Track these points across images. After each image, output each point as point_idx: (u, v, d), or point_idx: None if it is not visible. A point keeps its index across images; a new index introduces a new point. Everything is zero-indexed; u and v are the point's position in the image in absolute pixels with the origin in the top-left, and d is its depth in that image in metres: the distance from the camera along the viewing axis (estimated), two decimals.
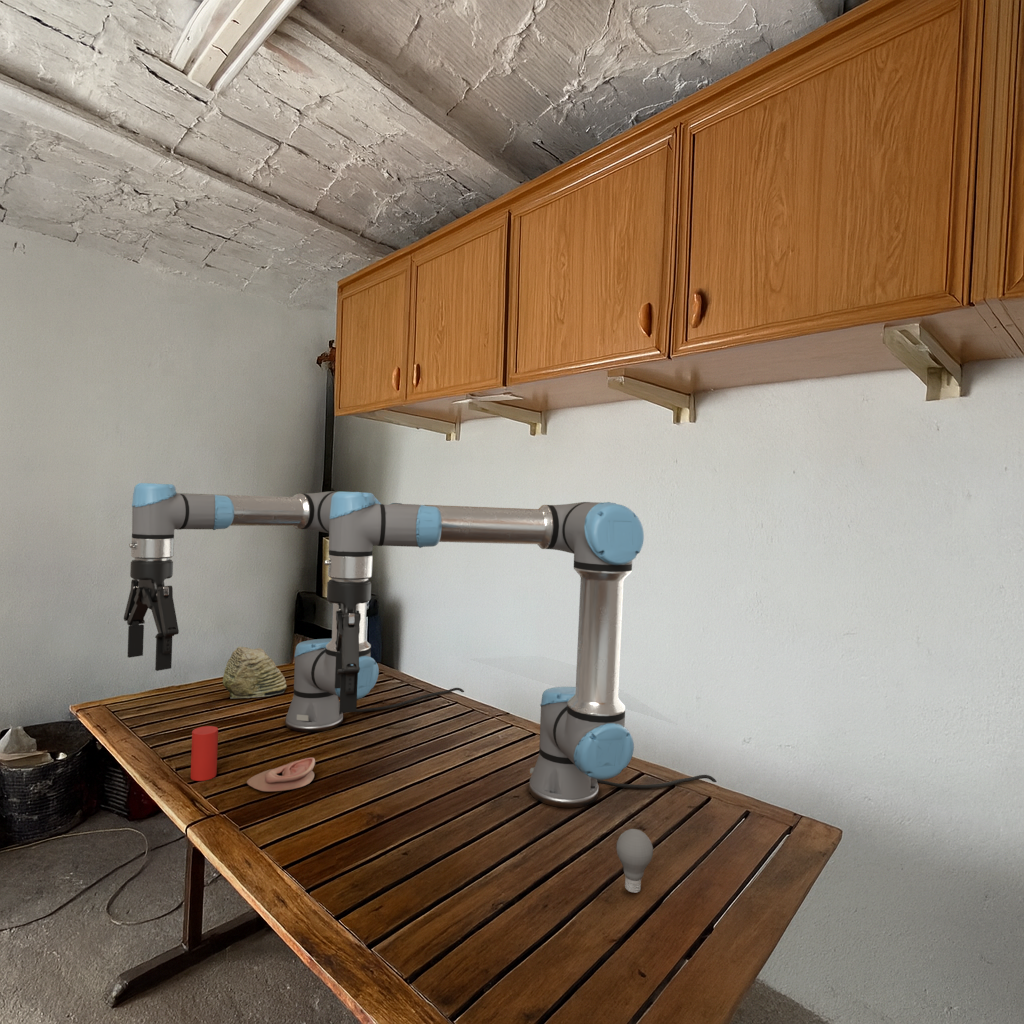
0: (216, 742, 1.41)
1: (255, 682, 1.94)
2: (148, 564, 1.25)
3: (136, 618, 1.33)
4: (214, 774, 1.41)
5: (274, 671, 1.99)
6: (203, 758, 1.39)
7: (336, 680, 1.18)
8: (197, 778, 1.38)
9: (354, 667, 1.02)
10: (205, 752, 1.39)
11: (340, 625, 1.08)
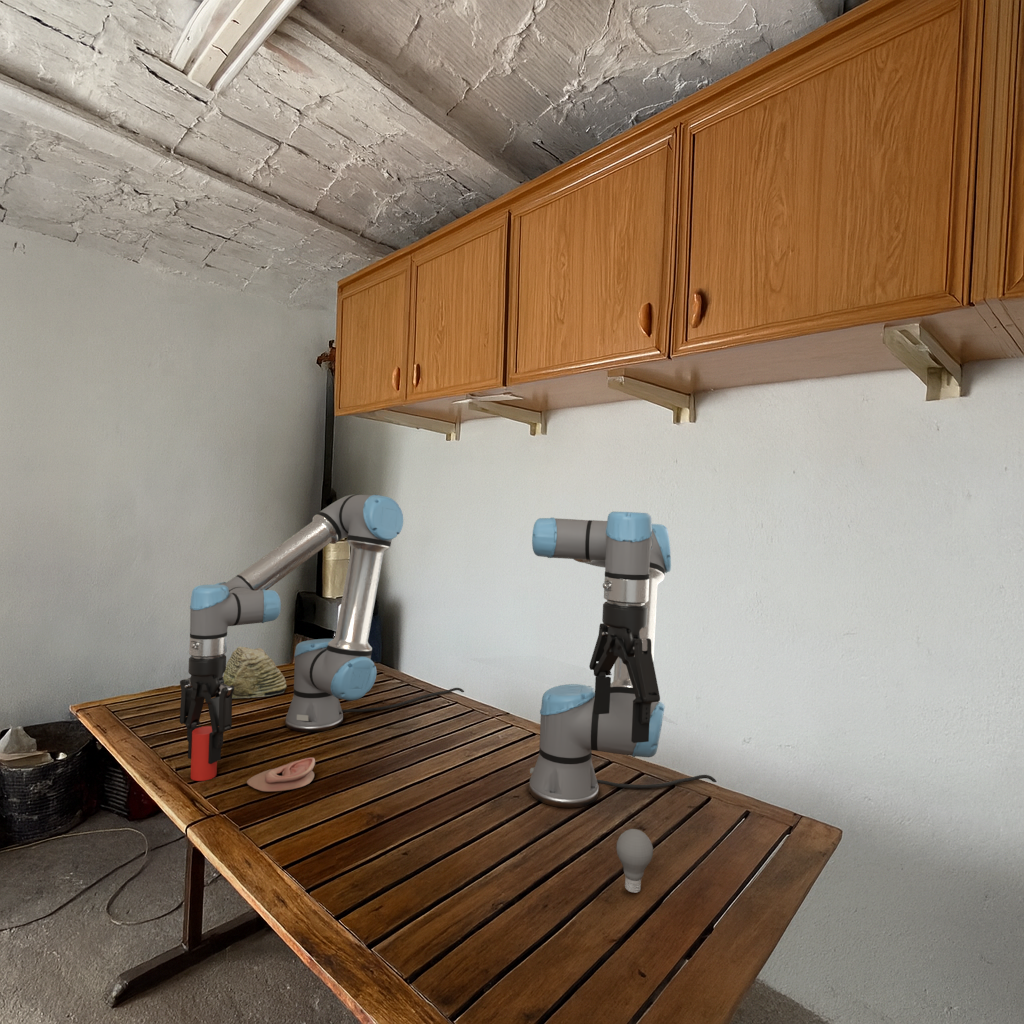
0: None
1: (255, 682, 1.94)
2: (211, 661, 1.38)
3: (194, 718, 1.42)
4: (214, 774, 1.41)
5: (274, 671, 1.99)
6: (203, 758, 1.39)
7: (597, 706, 1.14)
8: (197, 778, 1.38)
9: (655, 696, 0.98)
10: (205, 752, 1.39)
11: (624, 651, 1.04)
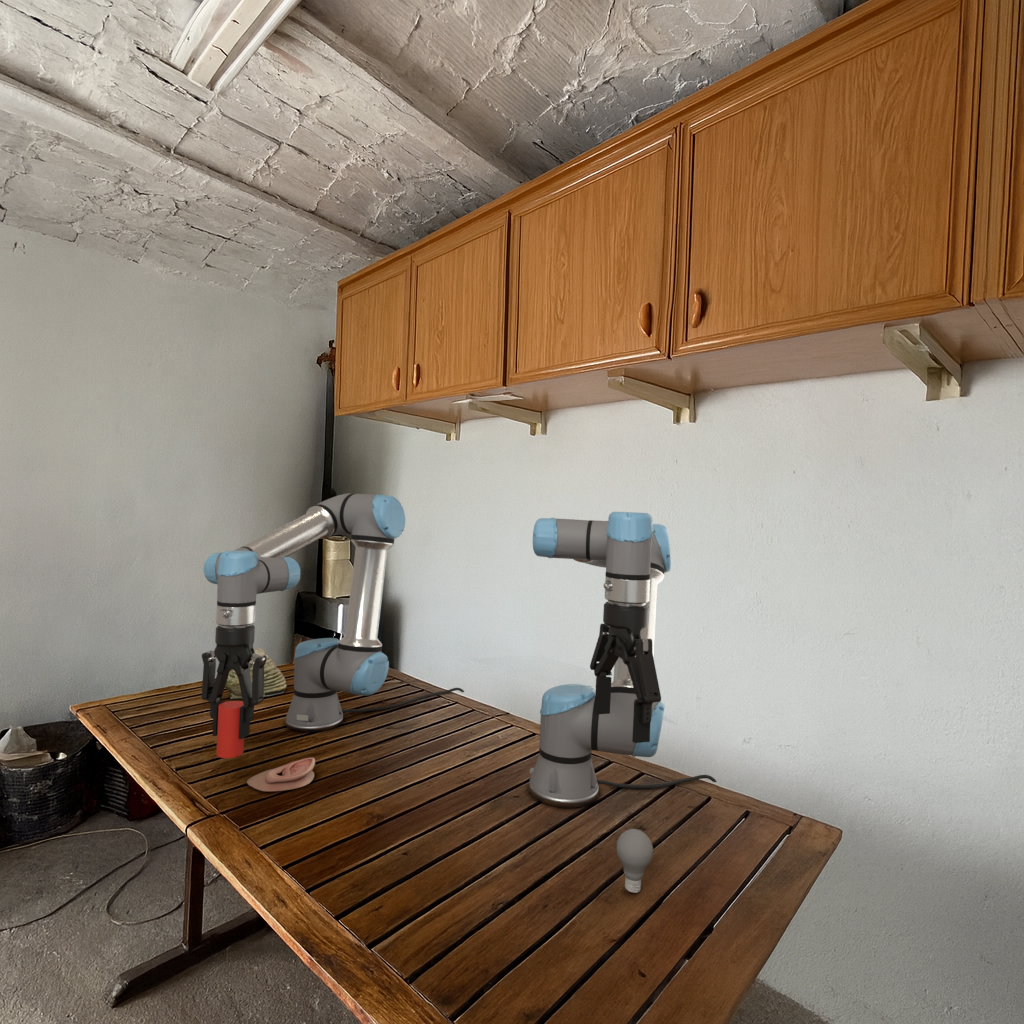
0: None
1: None
2: (244, 630, 1.30)
3: (219, 692, 1.33)
4: (242, 750, 1.33)
5: (274, 671, 1.99)
6: (233, 733, 1.31)
7: (597, 706, 1.14)
8: (226, 755, 1.30)
9: (656, 696, 0.98)
10: (235, 727, 1.31)
11: (625, 651, 1.04)
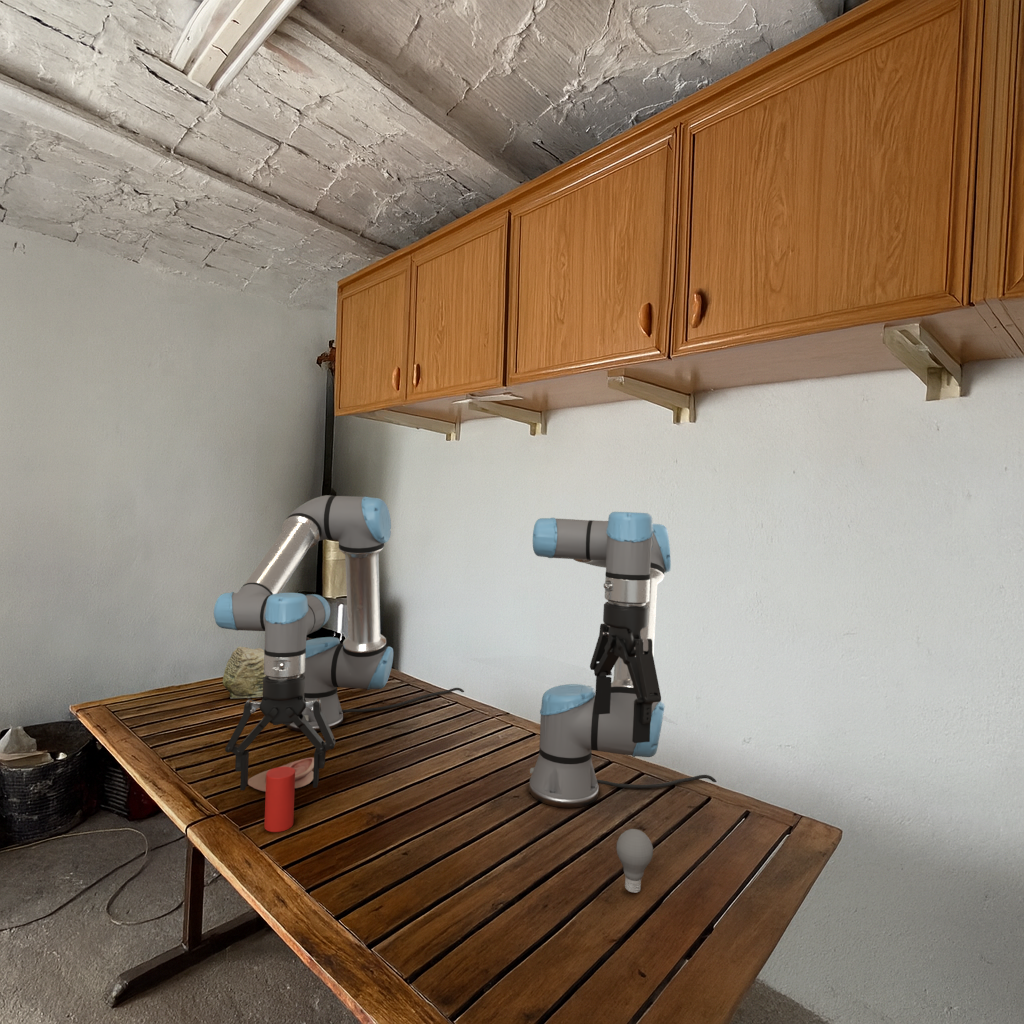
0: None
1: (255, 682, 1.94)
2: (300, 681, 1.20)
3: None
4: None
5: None
6: (288, 803, 1.20)
7: (597, 706, 1.14)
8: (281, 828, 1.19)
9: (656, 696, 0.98)
10: (289, 797, 1.20)
11: (625, 651, 1.04)
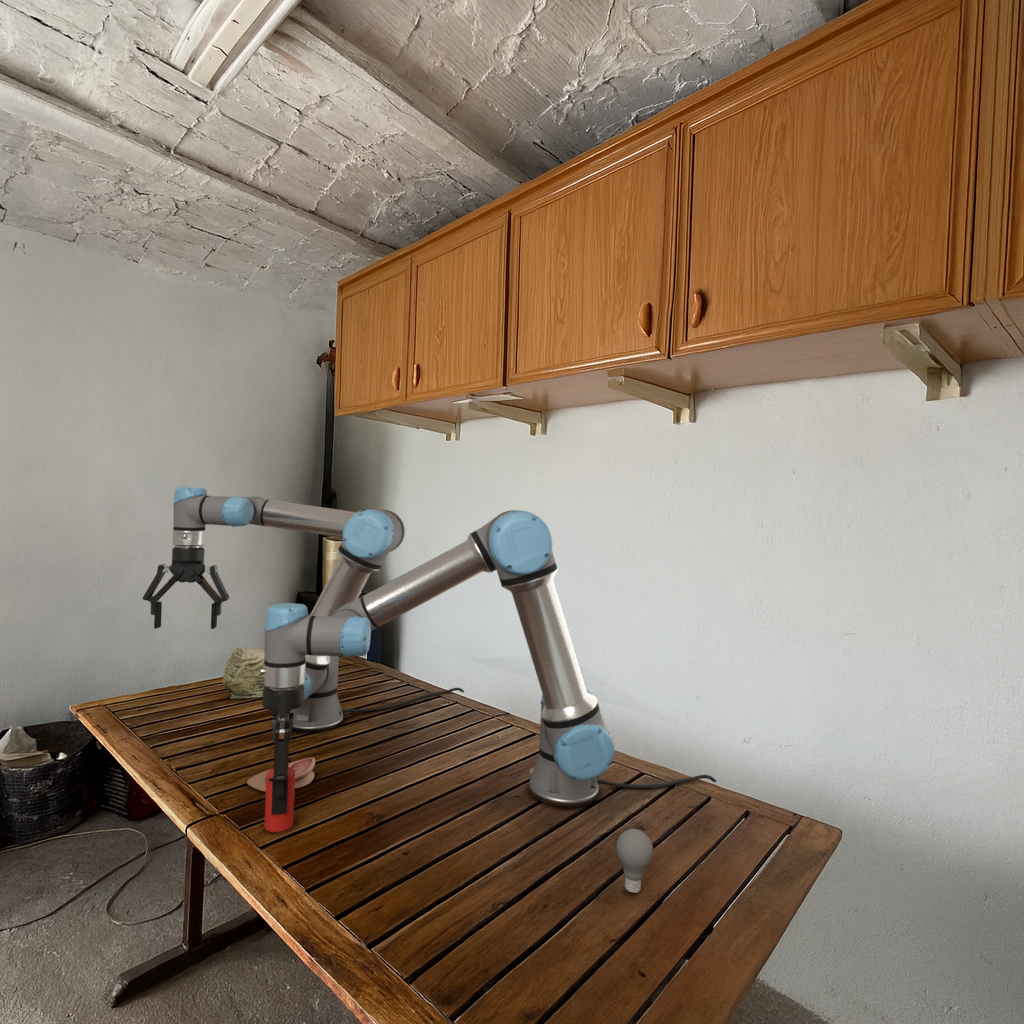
0: None
1: (255, 682, 1.94)
2: (199, 549, 1.63)
3: (161, 596, 1.64)
4: None
5: None
6: (288, 803, 1.20)
7: None
8: (281, 828, 1.19)
9: (283, 778, 1.16)
10: (289, 797, 1.20)
11: (273, 732, 1.19)
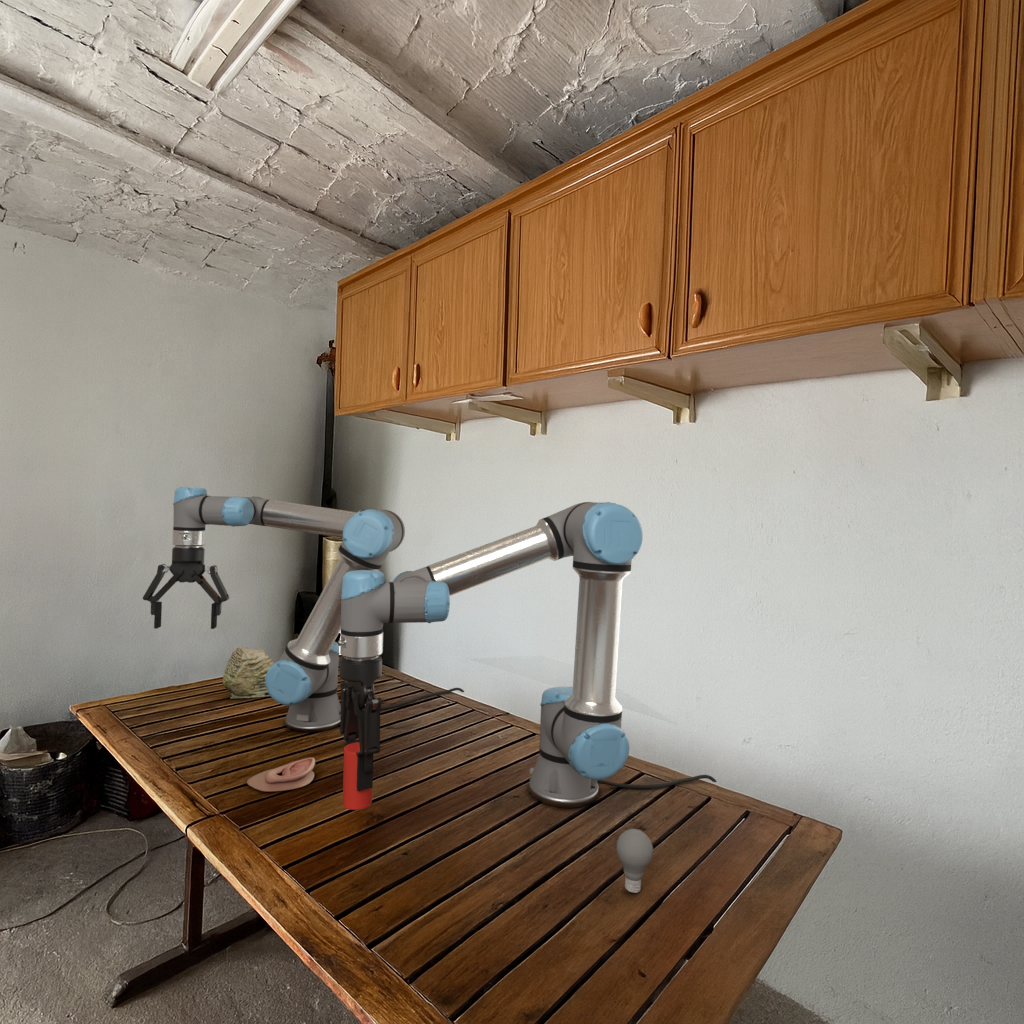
0: None
1: (255, 682, 1.94)
2: (199, 549, 1.63)
3: (161, 596, 1.64)
4: None
5: None
6: None
7: None
8: (365, 804, 1.14)
9: (375, 750, 1.11)
10: None
11: (357, 705, 1.13)
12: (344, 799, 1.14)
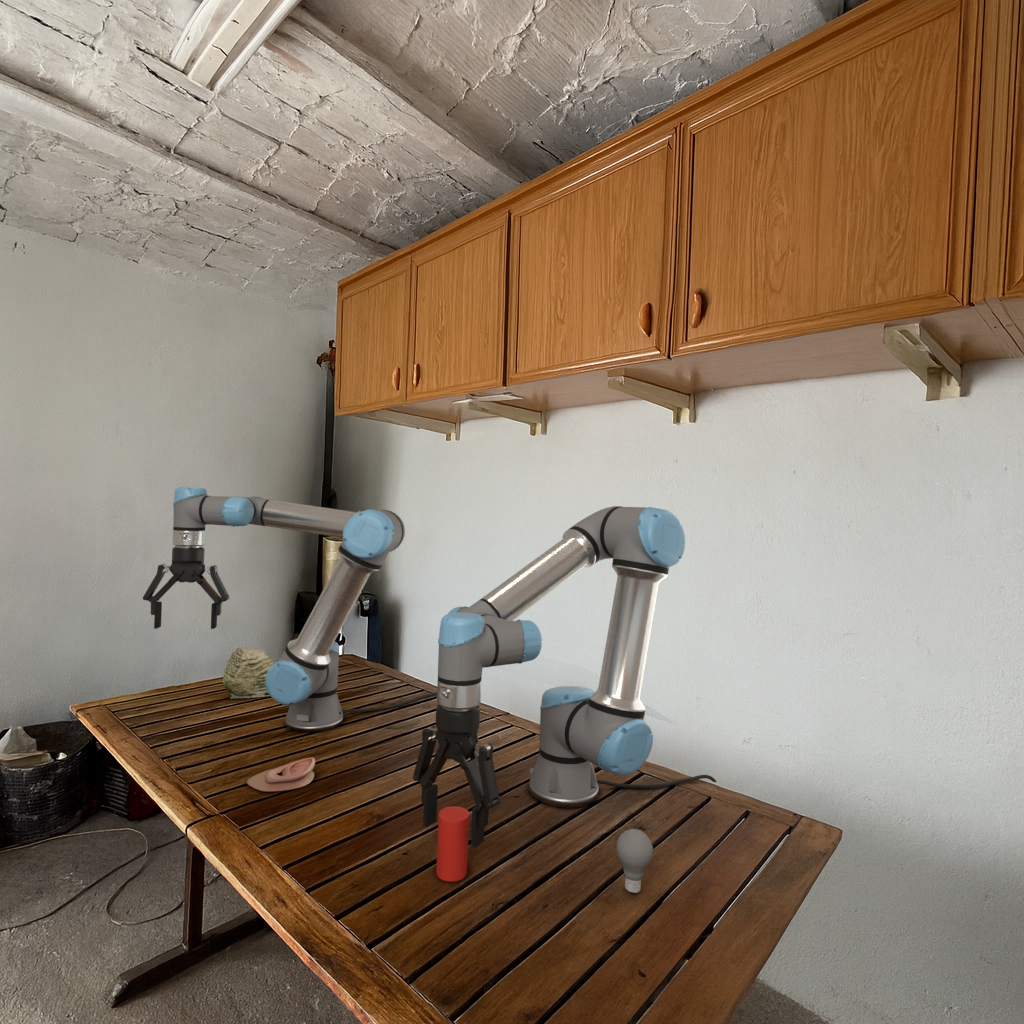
0: None
1: (255, 682, 1.94)
2: (199, 549, 1.63)
3: (161, 596, 1.64)
4: None
5: None
6: None
7: (427, 818, 1.10)
8: (465, 873, 1.08)
9: (496, 800, 1.04)
10: None
11: (463, 757, 1.06)
12: (443, 871, 1.06)
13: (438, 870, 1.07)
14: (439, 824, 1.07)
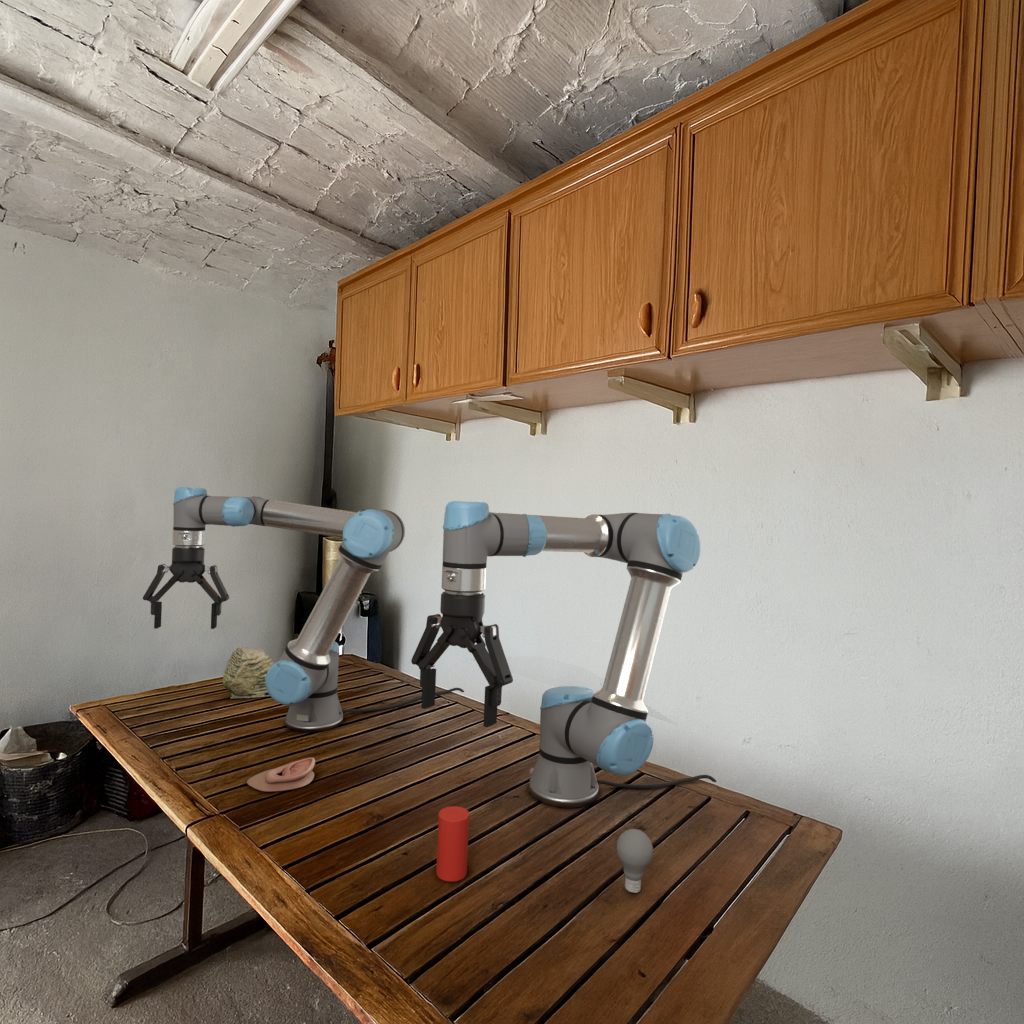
0: None
1: (255, 682, 1.94)
2: (199, 549, 1.63)
3: (161, 596, 1.64)
4: None
5: None
6: None
7: (425, 700, 1.11)
8: (465, 873, 1.08)
9: (509, 678, 1.03)
10: None
11: (470, 640, 1.05)
12: (443, 871, 1.06)
13: (438, 870, 1.07)
14: (439, 824, 1.07)
